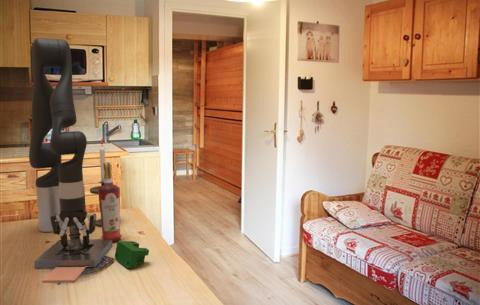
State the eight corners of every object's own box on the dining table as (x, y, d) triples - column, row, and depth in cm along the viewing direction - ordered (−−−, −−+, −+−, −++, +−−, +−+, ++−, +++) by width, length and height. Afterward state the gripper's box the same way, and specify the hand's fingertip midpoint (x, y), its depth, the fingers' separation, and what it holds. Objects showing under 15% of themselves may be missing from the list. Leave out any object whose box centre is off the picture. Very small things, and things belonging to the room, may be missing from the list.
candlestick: (122, 219, 177) (118, 135, 172) (116, 227, 166) (112, 138, 161) (96, 219, 176) (91, 135, 171) (88, 228, 165) (82, 138, 160)
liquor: (120, 235, 156) (116, 160, 152) (124, 241, 149) (120, 163, 145) (99, 238, 153) (95, 162, 149) (102, 245, 146) (97, 165, 142)
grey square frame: (59, 246, 145) (59, 239, 145) (112, 246, 145) (112, 239, 145) (34, 268, 127) (34, 260, 127) (95, 267, 127) (94, 260, 127)
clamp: (142, 278, 130) (152, 254, 128) (124, 278, 127) (134, 254, 124) (130, 252, 139) (139, 230, 136) (112, 252, 135) (122, 229, 133)
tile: (55, 269, 127) (55, 267, 127) (86, 268, 127) (86, 266, 127) (42, 282, 118) (42, 280, 118) (74, 282, 118) (74, 280, 118)
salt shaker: (79, 261, 133) (76, 223, 131) (62, 259, 134) (59, 222, 132) (89, 254, 139) (87, 218, 137) (73, 252, 140) (70, 217, 138)
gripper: (98, 191, 137) (101, 241, 140) (54, 192, 137) (57, 242, 139) (90, 197, 130) (94, 250, 132) (43, 198, 130) (47, 250, 132)
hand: (75, 246), depth 136 cm, fingers closed on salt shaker, 6 cm apart
